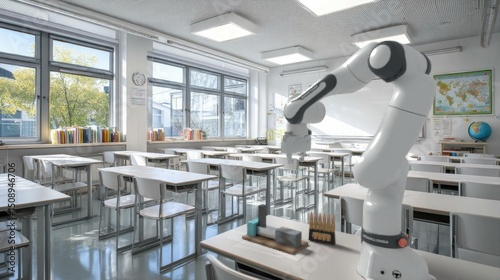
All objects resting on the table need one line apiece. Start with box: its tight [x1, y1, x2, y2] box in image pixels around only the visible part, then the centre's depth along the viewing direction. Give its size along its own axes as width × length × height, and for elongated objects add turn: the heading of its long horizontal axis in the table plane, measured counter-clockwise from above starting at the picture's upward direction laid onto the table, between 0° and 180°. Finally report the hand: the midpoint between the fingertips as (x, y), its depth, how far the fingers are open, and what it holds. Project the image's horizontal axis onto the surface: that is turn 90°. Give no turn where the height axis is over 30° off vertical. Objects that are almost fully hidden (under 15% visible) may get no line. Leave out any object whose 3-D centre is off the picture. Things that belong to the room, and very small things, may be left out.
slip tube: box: [256, 203, 279, 239], centre depth 122 cm, size 14×3×12 cm, turn 50°
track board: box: [241, 226, 309, 255], centre depth 120 cm, size 24×12×6 cm, turn 50°
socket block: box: [246, 217, 258, 237], centre depth 126 cm, size 4×7×6 cm, turn 141°
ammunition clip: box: [308, 211, 337, 246], centre depth 119 cm, size 11×2×12 cm, turn 64°
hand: (296, 162), depth 129 cm, fingers open, 8 cm apart
